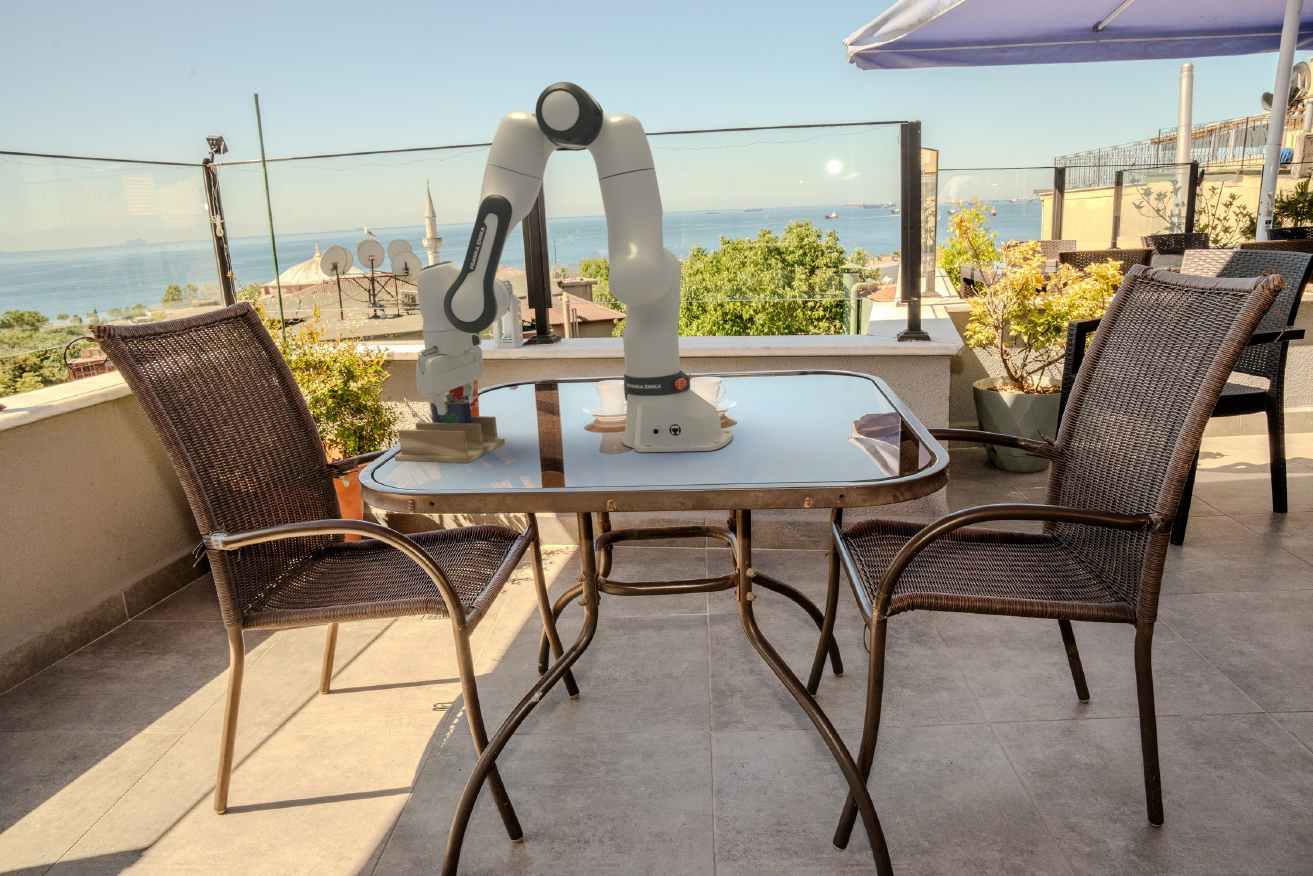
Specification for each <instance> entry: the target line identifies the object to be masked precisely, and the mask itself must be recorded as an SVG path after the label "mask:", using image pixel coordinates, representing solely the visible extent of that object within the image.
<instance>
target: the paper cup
mask: <svg viewBox="0 0 1313 876" xmlns="http://www.w3.org/2000/svg"><path fill="white" fill-rule="evenodd" d="M463 392H464V387H462V386H460V387H457V388H455V389H452V390H449V391H448V394H451V393H454V394H453V396H452V397H455V398H457V399H458V400H457V401H459V400H460V399H462V397H461V396H463ZM472 398H473V402H472V403H470V411H471V416H480V405H479V404H480V403H479V386H478V380H475V381H474V389H473V394H472ZM460 401H461V400H460Z"/></svg>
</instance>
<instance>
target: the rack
mask: <svg viewBox="0 0 1313 876" xmlns="http://www.w3.org/2000/svg"><path fill="white" fill-rule="evenodd" d="M471 418H472V423H433V416H431V420H432V421H431V422H430V421H429V422H427V421H424V422H423V421H422V422H421V421H418V422H416V423H415V429H408V428H407V429H405V428H402V429H399V430H398V432H397V433H398V437H399V444H400V445H399V446H400V451H401V452H400V453H397V454H395V455H394V459H395V461H405V462H406V461H409V462H430V463H432V462H433V463H452V464H453V463H454V464H455V463H456V464H469V463H471V462H473V461H475V460H477V459H478V458H481V456H484V455H486V454H487V453H490V452H491V451H493V450H495V449H497V448H498V447H500V446H502V445H504V444H505V443H506V442H505V441H506V440H505V438H501V437H498V436H499V435H498V427H497V420H496V416H485V415H484V416H480V415H479V416H471Z"/></svg>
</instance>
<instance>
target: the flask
mask: <svg viewBox="0 0 1313 876" xmlns="http://www.w3.org/2000/svg"><path fill="white" fill-rule="evenodd" d="M453 394H454V393H451V394H450V393H448V394H444V398H446V400H444V403H445V405H448V410H449V412H448V413H447V414H445V415H439V414H438V412H437V406H436V405H435V404H434V402H433V401H432V402H431V403H430V409H431V415H432V416H433V422H432V423H472V418H471V411H470V403H469V402H468V401H464V400H462V399H460V400H461V401H460V400H459V401H457V400H458V399H457V398H455V397H452V396H453ZM432 416H431V417H432Z"/></svg>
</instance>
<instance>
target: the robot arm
mask: <svg viewBox="0 0 1313 876" xmlns="http://www.w3.org/2000/svg"><path fill="white" fill-rule="evenodd" d="M584 150H587V151H588V152H590V154H591V156H592V158H593V160H594V163H595V168H596V174H597V178H598V179H597V180H598V183H599V187H600V188H599V189H600V192H601V193H600V194H601V198H602V203H603V204H602V205H603V208H604V209H603V210H604V215H605V218H606V225H607V250H608V264H609V265H608V267H609V272H608V276H607V277H608V278H607V280H608V281H607V283H608V288H609V290H610V292H611V294H612V295H613V297H614V298H615V299H616V300H617V301H618V302H620V303H621V304H623V305H625V306H626V315H625V316H626V317H625V323H624V330H623V334H622V341H623V353H624V368H625V373H624V374H623V393H624V397H625V401H626V414H625V416H626V418H625V427H624V431H623V432H624V434H623V438H622V444H624V445H625V446H626V447H629V448H632V449H633V450H635V451H636V452H639V453H661V452H663V453H669V452H670V453H671V452H673V453H675V452H710V451H711V452H712V451H714V450H718V449H721V448H723V447H725V446H726V445H728V444H729V443H730V442H731V441H732V439H733V432H732V431H731V429H729V428H722V425H721V419H720V415H719V412H718V409H717V408H716V406H714V405H713V404H711V402H708V401H707V400H706V399H705V398H703V397H701V396H700V395H698V394H697V393H696V392H695V391H693V390H692V389H691V380H692V373H689V374H686V373H685V372H684V371H683V370H681V367H680V365H681V364H680V361H681V359H680V345H679V343H680V342H679V322H680V321H679V320H680V307H681V306H680V304H681V279H682V267H681V264H680V261H679V260H678V258H677V257H676V255H675V254H674V253H673V252H671V251H670V250H669V249H667V248H666V247H664V238H663V237H664V235H663V214H664V209H663V205H662V198H661V194H660V193H661V192H660V188H659V183H658V177H657V173H656V172H657V171H656V167H655V163H654V157H653V154H652V150H651V147H650V144H649V141H648V137H647V135H646V133H645V129H644V127H643V125H642V123H641V121H640V120H639V119H638V118H637V117H635V116H633V115H631V114H627V113H616V114H615V113H614V114H606V113H604V110H603V108H602V106H601V105H600V103H599V102H598V101H597V100H596V99H595V97H594V96H593V95H592V94H591V93H590V92H589V91H587V90H586V89H585V88H583V87H580V85H578V84H576V83H573V82H569V81H568V82H567V81H560V82H556V83H553V84H550V85H548V86H547V87H546V88H544V89H543V91H542V92H541V93H540V94H539V96H538V98H537V101H536V104H535V112H529V111H525V110H515V111H511V112H508V113H506V114H505V115H504V116H503V118H502V119H501V121H500V123H499V124H498V128H497V130H496V132H495V135H494V137H493V141H492V143H491V146H490V149H489V153H488V156H487V160H486V164H485V168H484V173H483V178H482V184H481V190H480V191H481V192H480V197H479V202H478V208H477V213H476V219H475V223H474V226H473V229H472V232H471V235H470V239H469V243H468V246H467V250H466V254H465V258H464V260H463V264H462V266H459V264H457V263H455V262H454V261H451V260H450V261H449V260H448V261H447V260H446V261H442V262H438V263H435V264H430V265H428V266H424V267H423V268H421V269H420V270H419V272H418V274H417V278H416V279H417V280H416V282H417V283H416V287H417V300H418V301H417V302H418V307H419V312H420V313H421V314H420V315H421V317H422V336H423V343H424V349H423V350H421V351H420V353H419V355H418V357H417V361H416V366H415V376H416V388H417V389H416V390H417V393H418V394H419V395H420V397H422V398H423V397H426V398H427V397H428V398H430V397H431V401H432V402H434V404H435V405H436V406H437V412H438V414H439V415H445V414H447V413H448V412H449V410H448V405H445V403H444V401H445V400H444V398H445V393H446V392H449V390H452V389H455V388H457V387H460V386H462V387H464V392H463V396H461V397H462V400H464V401H468V402H469V403H472V402H473V398H472V394H473V389H474V381H475V380H477V381H478V380H480V379H482V378H483V376H484V373H485V368H484V367H485V366H484V360H483V359H484V357H483V352H482V351H483V350H482V348H481V347H480V346H481V345H482V337H481V335H480V334H478V333H480V332H483V331H485V330H487V329H488V328H489V327H490V326H491V325H492V324H494V323H496V322H497V321H499V320H500V319H501V318H503V317H504V316H505V315H506V314H507V313H508V311H509V309H510V305H511V293H510V291H509V289H508V287H507V286H506V284H505V283H504V282H503V281H502V280H500V279H499V278H496V277H497V272H498V269H499V266H500V263H501V259H502V255H503V252H504V249H505V246H506V243H507V240H508V238H509V236H510V235H511V233H512V231H513V230H514V229H515V228H516V227H517V225H518V224H520V222H521V221H522V220H523V219H525V217H527V216H528V215H529V214H530V213H531V212H532V210H533V207H534V205H535V203H536V201H537V199H538V196H539V193H540V190H541V186H542V183H543V179H544V175H545V171H546V167H547V163H548V160H549V158H550V156H551V155H552V153H553V152H554V151H559V152H560V151H561V152H565V151H567V152H568V151H574V152H576V151H584Z"/></svg>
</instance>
